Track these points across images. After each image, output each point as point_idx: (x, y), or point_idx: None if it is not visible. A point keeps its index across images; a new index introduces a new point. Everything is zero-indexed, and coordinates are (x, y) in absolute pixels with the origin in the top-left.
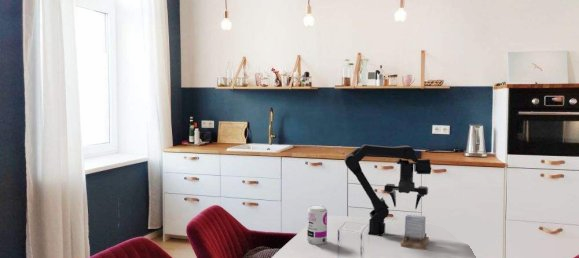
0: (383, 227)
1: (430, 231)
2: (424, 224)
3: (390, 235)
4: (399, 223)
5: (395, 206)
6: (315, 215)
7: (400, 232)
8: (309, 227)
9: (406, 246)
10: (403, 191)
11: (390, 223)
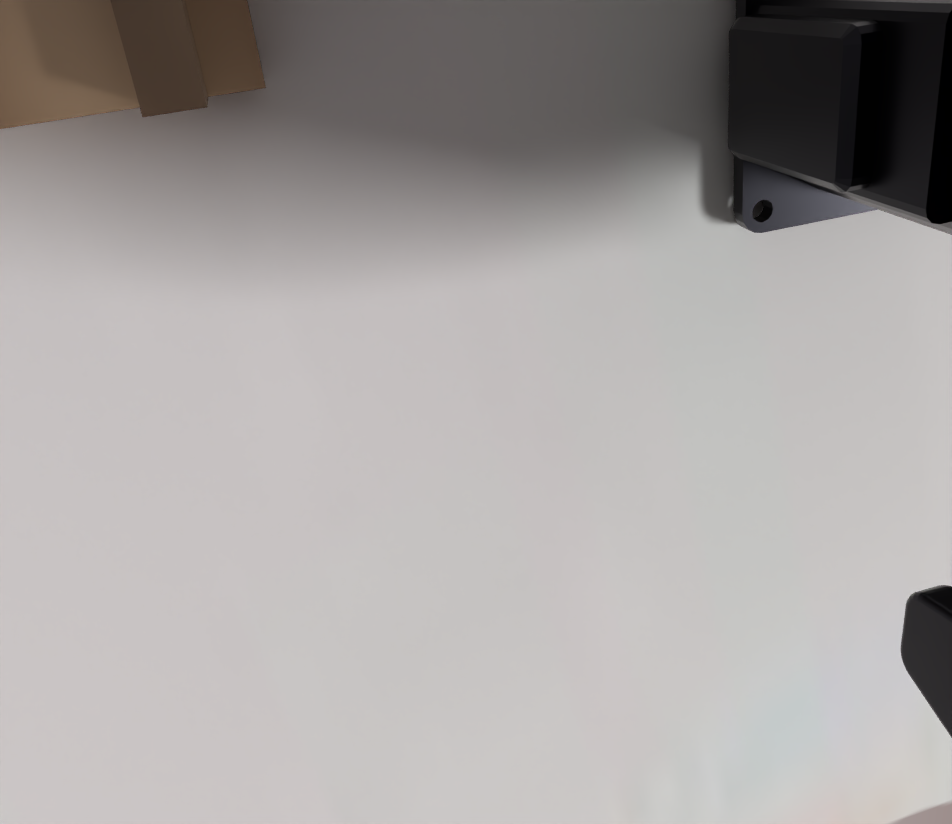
0: (823, 20)
1: (9, 767)
2: None
3: (589, 73)
4: (610, 810)
5: (928, 610)
6: None
7: (467, 393)
8: None
9: None
10: None
11: (728, 732)
